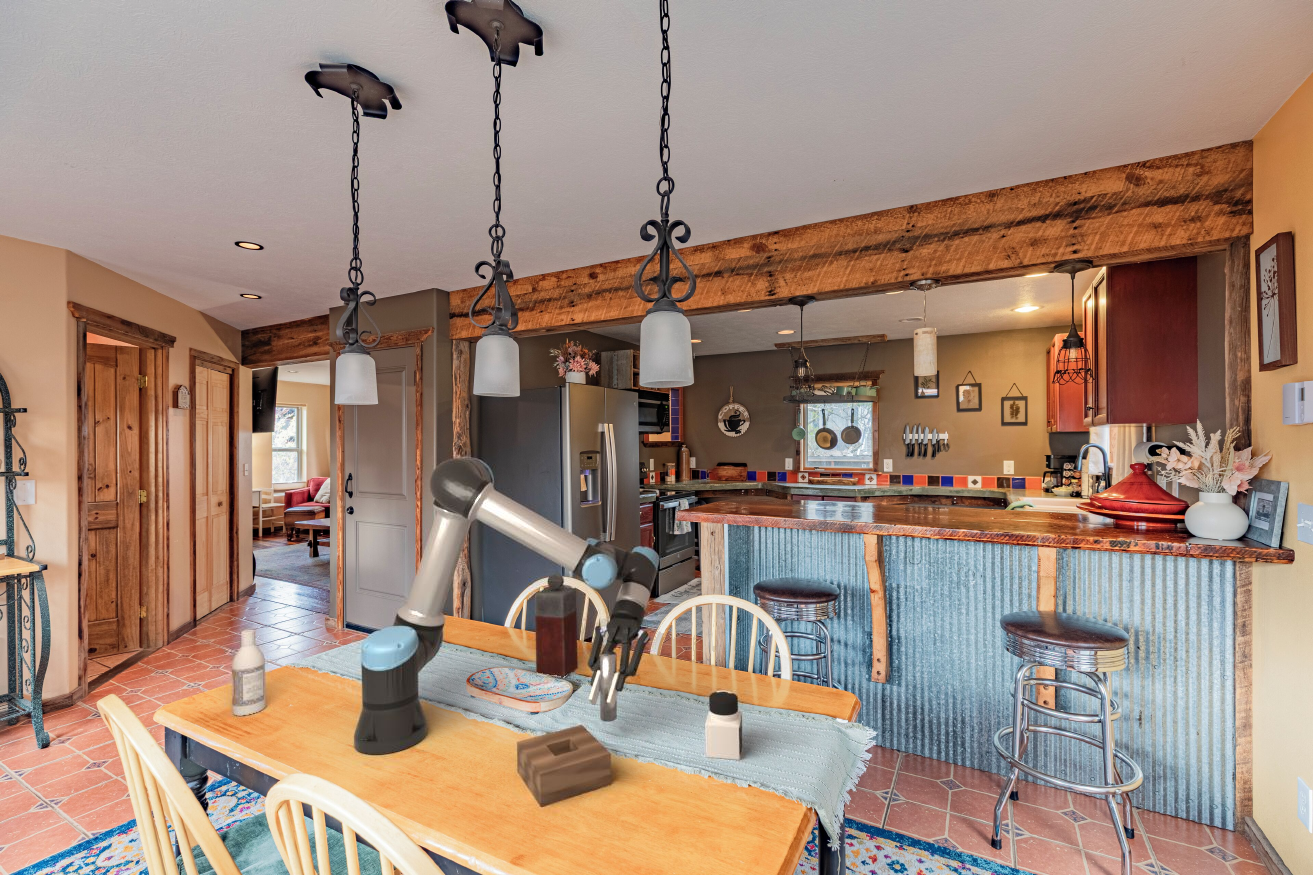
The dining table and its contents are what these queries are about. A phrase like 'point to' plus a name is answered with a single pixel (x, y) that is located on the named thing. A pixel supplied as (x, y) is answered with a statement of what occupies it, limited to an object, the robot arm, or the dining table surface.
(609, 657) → the steel pin
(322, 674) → the dining table surface
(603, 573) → the robot arm
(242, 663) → the bath foam
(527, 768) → the bore block
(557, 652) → the square glass decanter
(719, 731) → the medicine bottle
